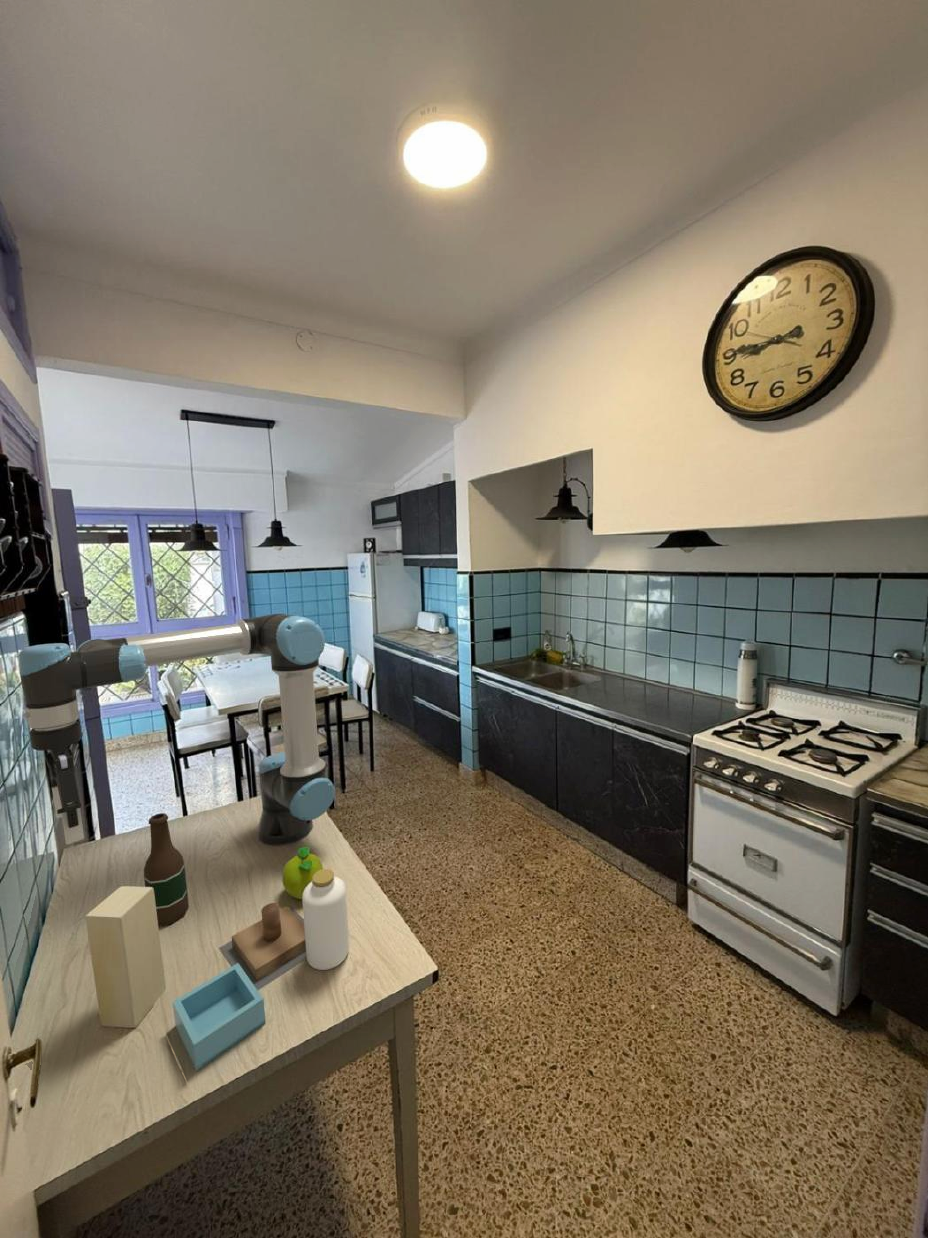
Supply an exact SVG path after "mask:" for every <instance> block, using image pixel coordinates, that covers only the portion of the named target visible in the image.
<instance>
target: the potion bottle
mask: <svg viewBox="0 0 928 1238" xmlns="http://www.w3.org/2000/svg"><path fill="white" fill-rule="evenodd" d="M312 879H313V880H312V882H311V883H309V884H308V886H307V887H306V888H305V890H304V892H303V895H302V899H301V901H302V912H303V914H302V915H303V919H304V928H305V942H306V955H307V959H306V960H307V963H308V965H309V966H311V967H312V968H313V969H316V970H320V971H327V970H331V969H333V968H336V967H337V966H339V965H340V964H342V962H344V961H345V959H346V957H347V956H348V954H349V950H350V939H349V919H348V902H347V901H348V900H347V887H346V884H345V882H344V880H342V879H341V878H339V877H338V876H335V872H334V871H333V870H332V869H329V868H323V869H322V870H319V871H317V872H316V873H315V874H314V875H313V877H312Z"/></svg>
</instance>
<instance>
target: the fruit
mask: <svg viewBox="0 0 928 1238" xmlns="http://www.w3.org/2000/svg"><path fill="white" fill-rule="evenodd" d="M297 853H298V854H297V855H295V856H294V857H293V858H291V859H289V860H288V861H287V862H286V863H285V865H284V867H283V870H282V877H281V879H282V881H281V882H282V886H283V888H284V889H285V890H286V892H287V893H288V894H289V895H290V896H291V897H293V898H295V899H298V900H302V895H303V892H304V890H305V888H306V887H307V886H308V884H309V883H311V882H312V880H313V879H312V877H313V875H314V874H315V873H316V872H317V871H319V870H322V869H324V868H323V864H322V860H321V859H320V858H319V857H318V856H317V855H315V854H314V853H310V846H303V847H300V848H298V850H297Z"/></svg>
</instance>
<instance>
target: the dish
mask: <svg viewBox="0 0 928 1238" xmlns="http://www.w3.org/2000/svg"><path fill="white" fill-rule="evenodd" d="M172 1008H173V1016H174V1024H175V1028H176V1030H177V1032H178V1034H179V1036H180V1038H181V1041H182V1042H183V1046H184V1047H185V1049H186V1051H187V1053H188V1055H189V1058H190V1060H191V1062H192V1064H193V1066H194V1069H195V1070H196V1072H199V1070H201V1069H202V1068H204V1067H206V1066H207V1065H208V1064H209V1063H211V1062H212V1061H214V1060H215V1059H217V1058H219V1056H221V1055H223V1054H224V1053H225V1052H227V1051H228V1050H230V1049H232V1047H234V1046H235V1045H237V1044H238V1043H239V1042H241V1041H242V1040H244V1039H245V1038H246V1037H248V1036H250V1035H251V1034H252V1033H254V1032H255V1031H256V1030H258V1029H259V1028H261V1027H262V1026H264V1025H265V1024H266V1022H267V1021H266V1013H265V1012H266V1011H265V1001H264V997H263V996H262V995H261V993H260V992H259V990H257V989H256V988H255V986H254V985H253V983H252V982H251V980H250V979H249V978H248V976H247V975H246V973H245V972H244V970H243V969H242V968H241V966H240V965H239V963H237V964H235V965H234V966H232V967H231V966H230V967H229V968H227V969H225V970H224V971H221V972H220V973H219V974H217V975H215V976H214V977H212V978H210V979H208V980H206V981H205V982H203V983H202V984H199V985H198V986H196V987H195V988H193V989H191V990H190V991H187V992H186V993H185V994H183V995H181V996H179V997H178V998H176V999H174V1000H173V1001H172Z"/></svg>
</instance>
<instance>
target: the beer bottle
mask: <svg viewBox="0 0 928 1238" xmlns="http://www.w3.org/2000/svg"><path fill="white" fill-rule="evenodd" d="M168 819H169V816H168V814H167V813H165V812H162V813H157V814H154V815H152V816H151V817H150V818H149V819H148V824H149V826H150V846H151V847H150V854H149V855H148V858H147V859H146V861H145V863H144V867H143V881H144V887H152V888H153V889H154V895H155V904H156V912H157V920H158V928H159V927H165V926H171V925H173V924H175V923H176V922H178V921H179V920H181V919H183V918H184V917H185V915H186V913H187V912H188V909H189V904H190V903H189V895H188V893H189V892H188V885H187V876H186V875H187V874H186V868H185V862H184V861H185V860H184V857H183V855H182V854H181V852H180V851H179V850H178V849H177V848H175V846H174V845H173V842H172V839H171V838H172V837H171V834H170V828H169V823H168Z"/></svg>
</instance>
